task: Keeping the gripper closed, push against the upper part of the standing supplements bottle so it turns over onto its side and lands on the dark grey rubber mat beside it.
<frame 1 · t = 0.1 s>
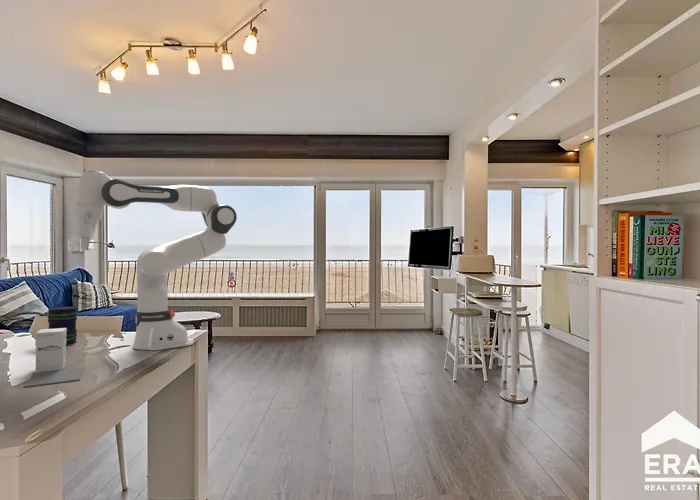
hand: (84, 249, 155), 39 cm above the table, tool pointing down, fingers open, 8 cm apart
supplement box: (51, 369, 133), on the table
storage jar: (62, 344, 169), on the table
mat: (55, 377, 124), on the table
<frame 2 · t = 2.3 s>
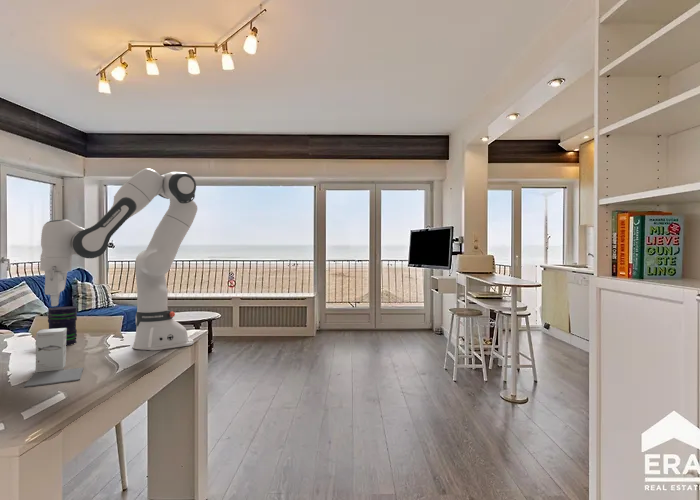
hand: (54, 305, 143), 19 cm above the table, tool pointing down, fingers closed
nothing on the table moved.
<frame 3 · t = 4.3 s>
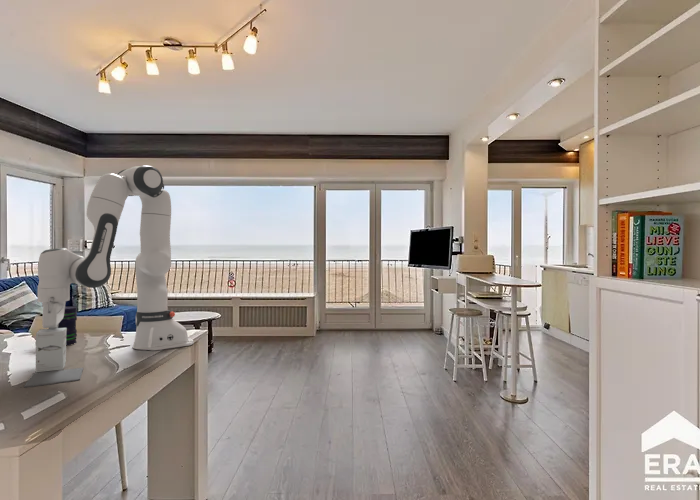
hand: (53, 337, 138), 9 cm above the table, tool pointing down, fingers closed
supplement box: (51, 369, 133), on the table, touching gripper
everything else where it was.
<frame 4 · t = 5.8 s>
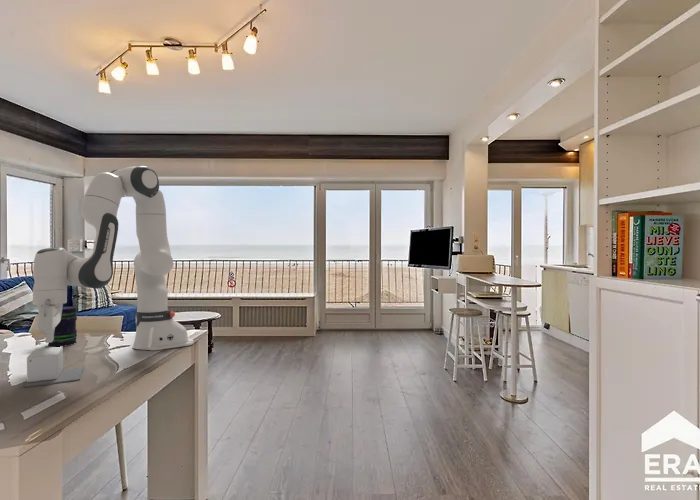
hand: (49, 341, 131), 9 cm above the table, tool pointing down, fingers closed
supplement box: (49, 358, 130), point 4 cm above the table, touching mat
everything else where it was.
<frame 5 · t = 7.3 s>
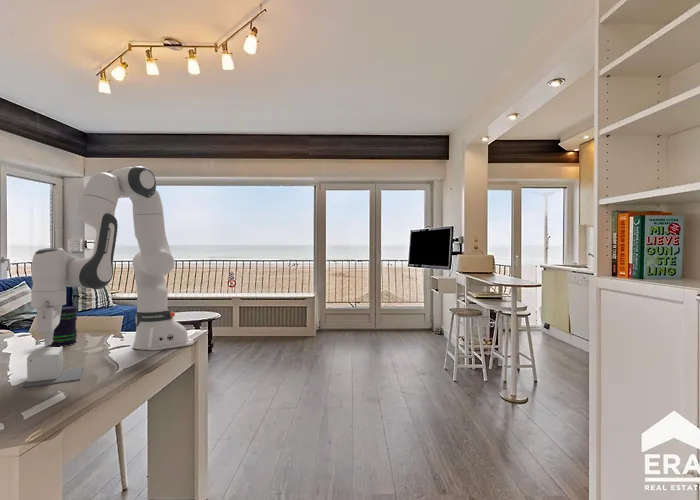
hand: (48, 344, 128), 9 cm above the table, tool pointing down, fingers closed
nothing on the table moved.
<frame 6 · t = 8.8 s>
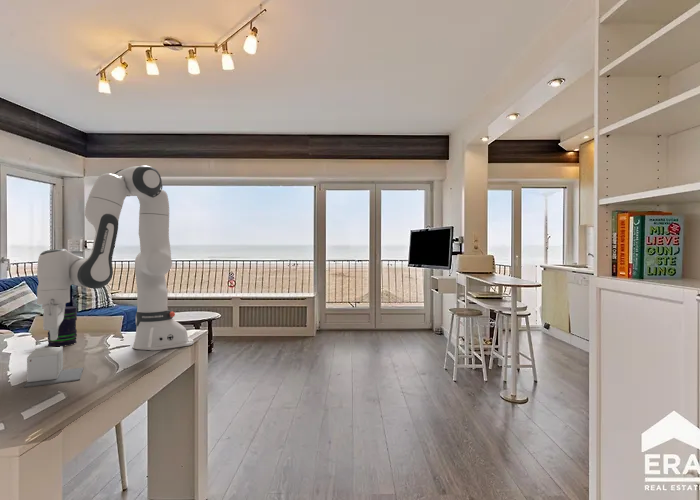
hand: (54, 339, 136), 9 cm above the table, tool pointing down, fingers closed
nothing on the table moved.
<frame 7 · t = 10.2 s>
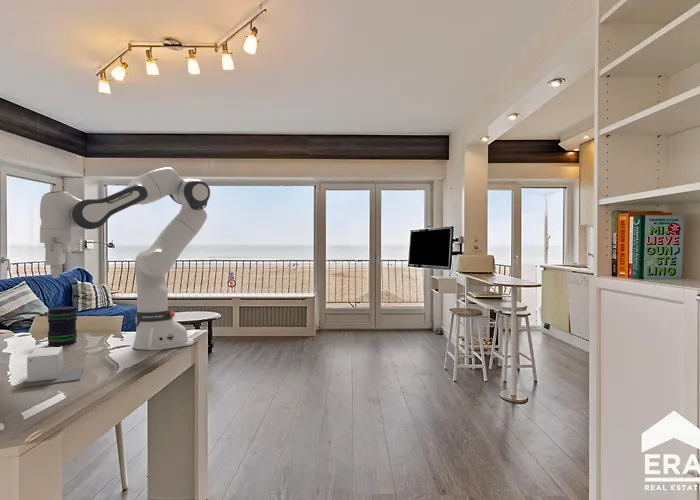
hand: (55, 278, 142), 29 cm above the table, tool pointing down, fingers closed
nothing on the table moved.
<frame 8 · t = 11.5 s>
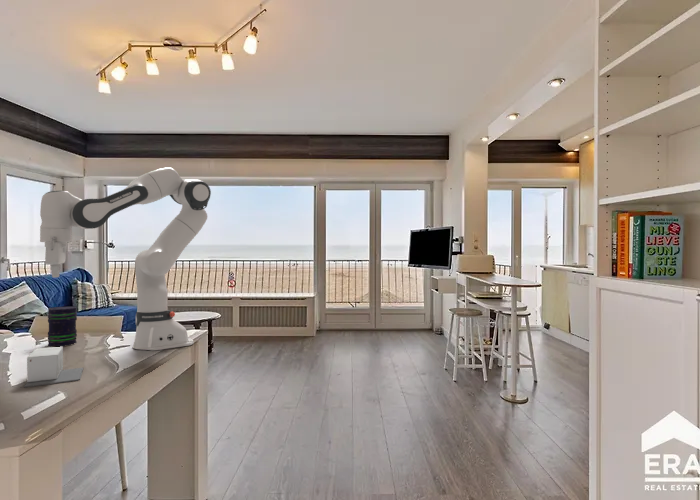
hand: (55, 277, 142), 29 cm above the table, tool pointing down, fingers closed
nothing on the table moved.
at the end: supplement box tilted 90°; supplement box inside the target area (6.8 cm from its centre), point 4.0 cm above the table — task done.
